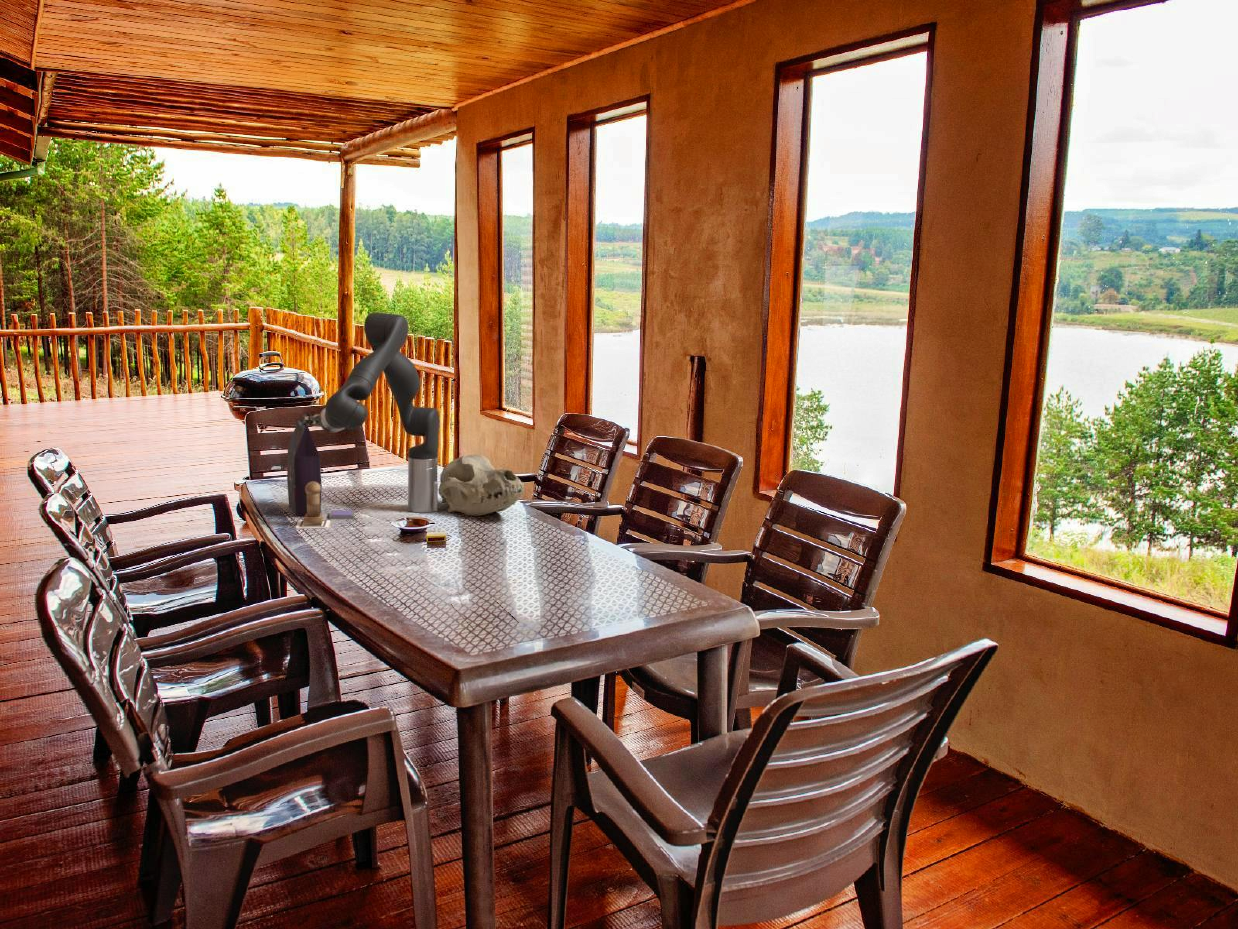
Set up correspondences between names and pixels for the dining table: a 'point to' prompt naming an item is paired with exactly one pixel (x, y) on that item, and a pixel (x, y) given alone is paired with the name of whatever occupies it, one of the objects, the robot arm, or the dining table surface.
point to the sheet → (324, 525)
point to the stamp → (313, 505)
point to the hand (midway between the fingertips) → (325, 424)
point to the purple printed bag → (301, 468)
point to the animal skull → (478, 486)
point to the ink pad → (341, 514)
